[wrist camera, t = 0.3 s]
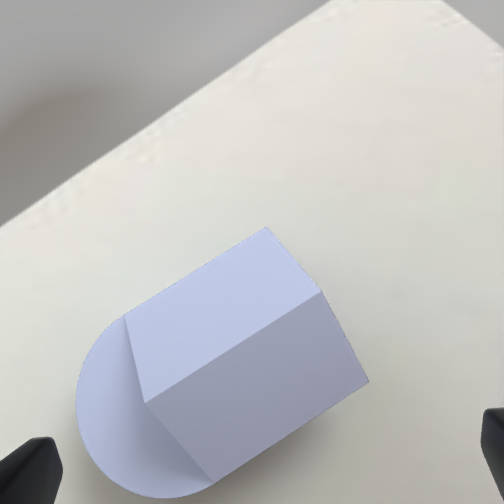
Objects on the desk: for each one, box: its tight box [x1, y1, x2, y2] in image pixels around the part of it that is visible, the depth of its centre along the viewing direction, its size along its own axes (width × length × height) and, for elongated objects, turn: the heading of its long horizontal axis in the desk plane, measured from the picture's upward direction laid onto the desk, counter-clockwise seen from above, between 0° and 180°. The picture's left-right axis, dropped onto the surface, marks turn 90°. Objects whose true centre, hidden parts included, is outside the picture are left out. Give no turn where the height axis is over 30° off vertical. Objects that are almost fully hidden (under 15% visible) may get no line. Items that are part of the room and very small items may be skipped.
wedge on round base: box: [76, 227, 369, 499], centre depth 21 cm, size 9×7×13 cm
